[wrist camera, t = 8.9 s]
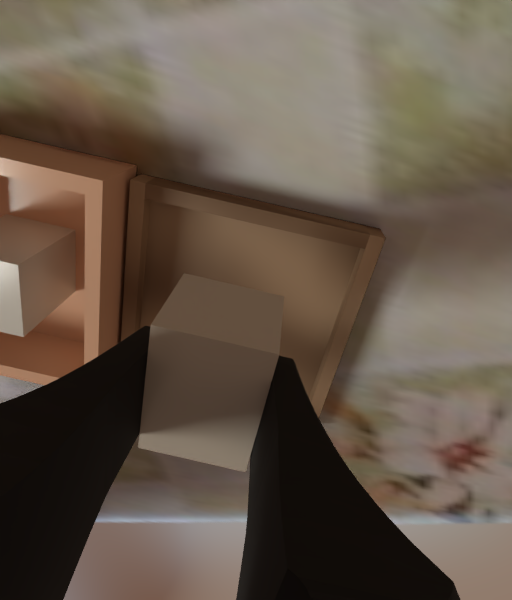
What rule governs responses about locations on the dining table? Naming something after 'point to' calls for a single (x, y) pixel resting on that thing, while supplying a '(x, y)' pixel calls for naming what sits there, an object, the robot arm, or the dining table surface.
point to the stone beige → (210, 371)
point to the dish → (88, 247)
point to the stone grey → (33, 271)
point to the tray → (251, 265)
